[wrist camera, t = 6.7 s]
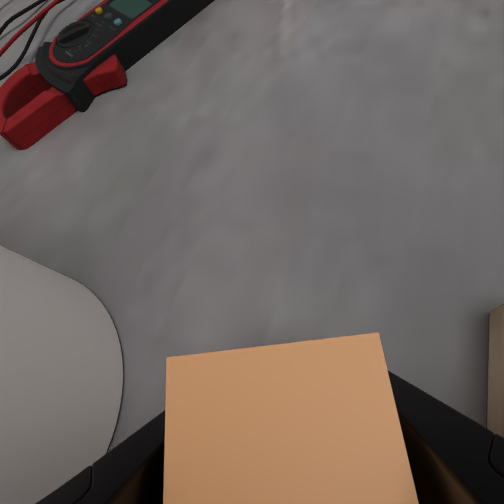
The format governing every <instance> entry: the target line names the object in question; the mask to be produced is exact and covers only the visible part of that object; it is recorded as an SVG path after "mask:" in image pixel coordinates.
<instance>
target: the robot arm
mask: <svg viewBox="0 0 504 504" xmlns="http://www.w3.org/2000/svg"><path fill="white" fill-rule="evenodd" d="M388 375H389V379H390V383H391V387H392V392H393V396H394V400H395V405H396V409H397V413H398V417H399V422H400V426H401V430H402V434H403V439H404V443H405V447H406V451H407V456H408V460H409V464H410V469H411V473H412V477H413V481H414V486H415V490H416V494H417V498H418V503H419V504H504V437H502V436H500V435H499V434H494V432H492V431H491V430H489V429H487V428H485V427H484V426H482V425H480V424H479V423H477V422H475V421H473V420H472V419H470V418H468V417H467V416H465V415H463V414H461V413H460V412H458V411H456V410H455V409H453V408H451V407H449V406H448V405H446V404H444V403H443V402H441V401H439V400H438V399H436V398H434V397H432V396H431V395H429V394H427V393H426V392H424V391H422V390H420V389H419V388H417V387H415V386H414V385H412V384H410V383H408V382H407V381H405V380H403V379H402V378H400V377H398V376H397V375H395V374H393V373H391V372H390V371H388ZM164 449H165V411H164V412H162V413H161V414H159V415H158V416H157V417H155V418H154V419H153V420H151V421H150V422H149V423H147V424H146V425H144V426H143V427H142V428H140V429H139V430H138V431H136V432H135V433H134V434H132V435H131V436H130V437H128V438H127V439H125V440H124V441H123V442H121V443H120V444H119V445H117V446H116V447H115V448H113V449H112V450H110V451H109V452H108V453H106V454H105V455H104V456H102V457H101V458H100V459H98V460H97V461H96V462H94V463H93V464H92V466H91V465H90V466H88V467H86V468H85V469H84V470H82V471H81V472H80V473H78V474H77V475H76V476H74V477H73V478H71V479H70V480H69V481H67V482H66V483H64V484H63V485H62V486H60V487H59V488H57V489H56V490H55V491H53V492H52V493H50V494H49V495H47V496H46V497H44V498H43V499H41V500H40V501H38V502H37V503H35V504H163V491H164Z"/></svg>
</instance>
